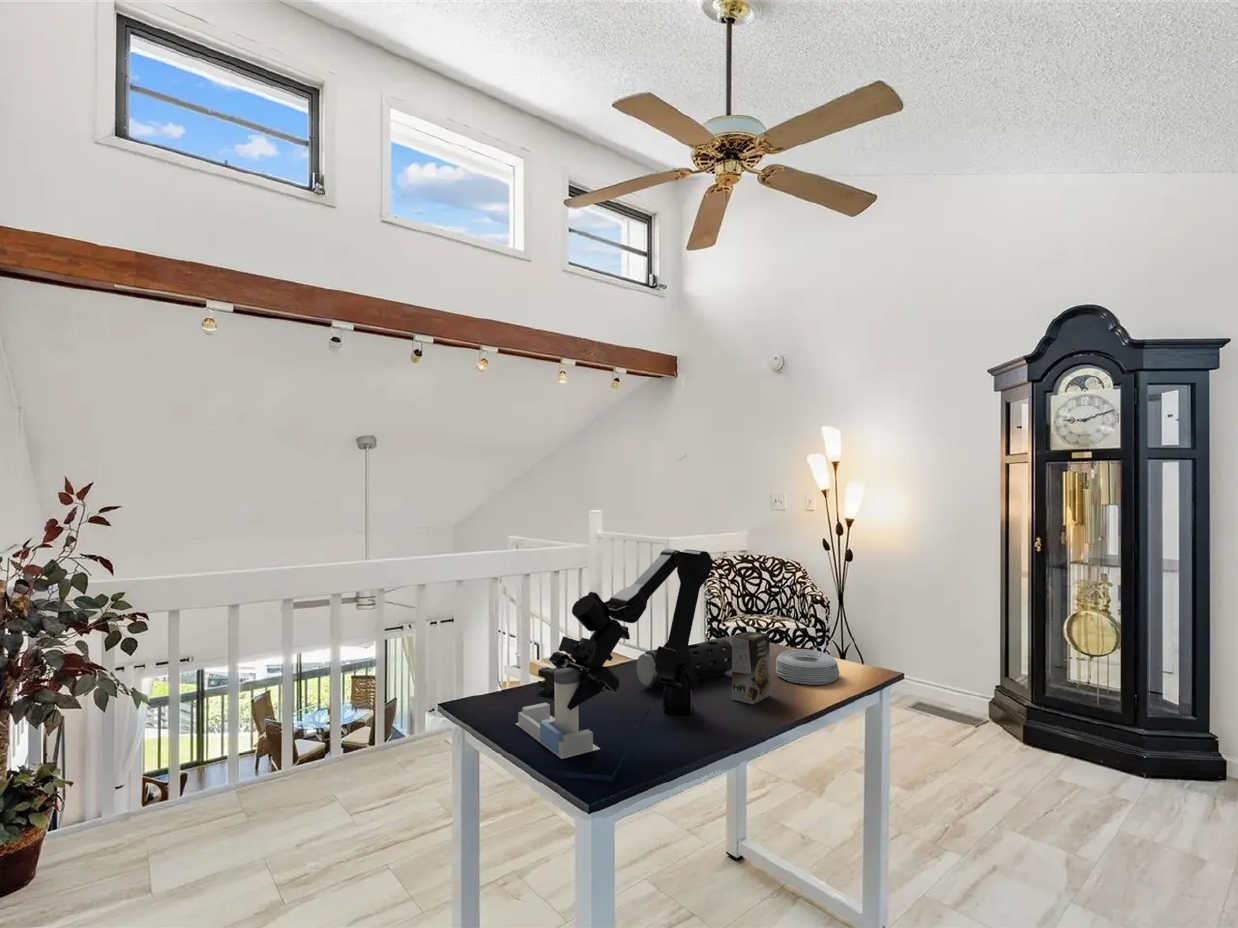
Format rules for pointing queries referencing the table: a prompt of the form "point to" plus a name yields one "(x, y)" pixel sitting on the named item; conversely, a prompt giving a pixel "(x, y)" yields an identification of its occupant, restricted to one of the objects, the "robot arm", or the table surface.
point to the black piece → (548, 680)
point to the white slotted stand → (554, 732)
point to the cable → (807, 667)
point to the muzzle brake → (699, 659)
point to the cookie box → (750, 667)
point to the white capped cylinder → (565, 700)
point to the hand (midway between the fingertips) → (561, 705)
